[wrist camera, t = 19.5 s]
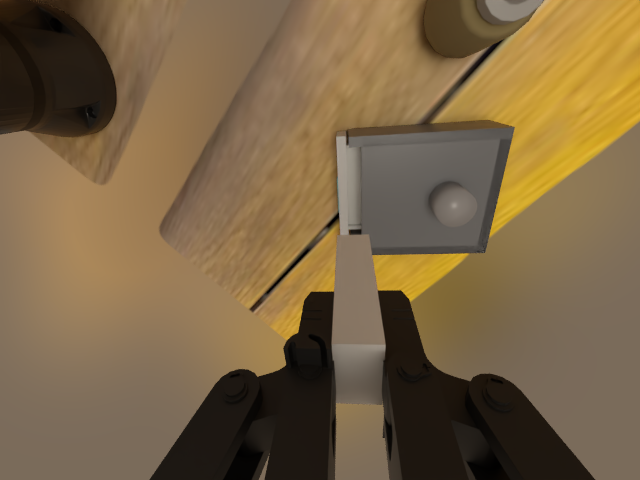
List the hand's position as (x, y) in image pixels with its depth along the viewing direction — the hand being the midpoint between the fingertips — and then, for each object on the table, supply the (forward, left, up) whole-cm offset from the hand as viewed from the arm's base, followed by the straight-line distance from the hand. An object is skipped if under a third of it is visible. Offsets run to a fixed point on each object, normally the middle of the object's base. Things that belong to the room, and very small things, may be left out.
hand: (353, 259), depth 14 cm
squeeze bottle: (-13, +12, -30) cm, 35 cm away
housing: (+6, +9, -29) cm, 31 cm away
